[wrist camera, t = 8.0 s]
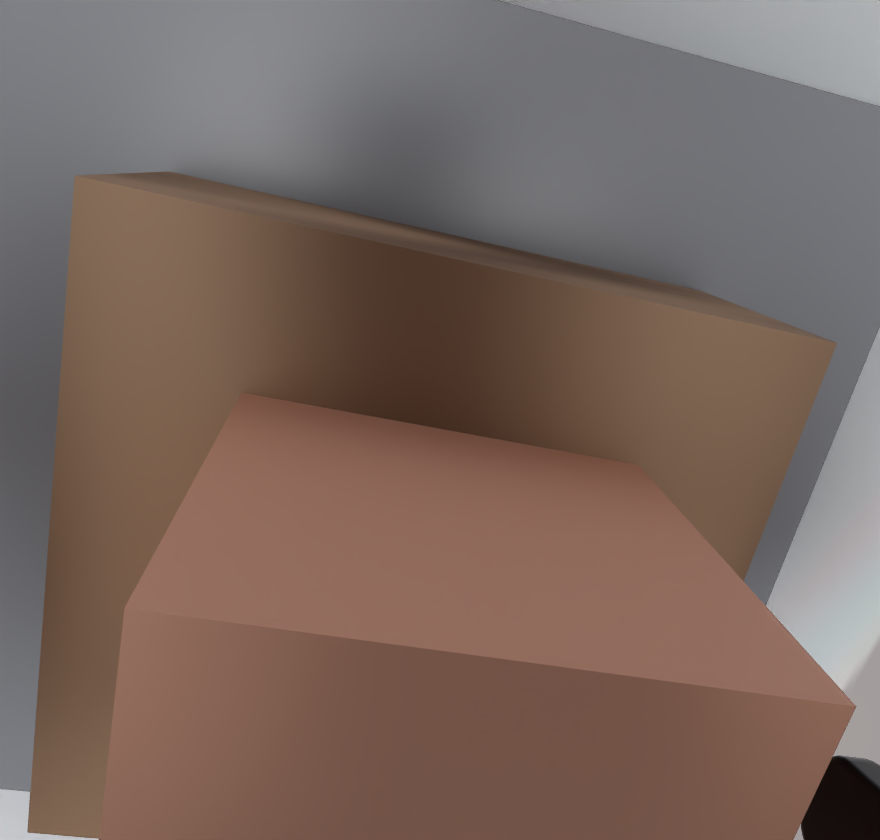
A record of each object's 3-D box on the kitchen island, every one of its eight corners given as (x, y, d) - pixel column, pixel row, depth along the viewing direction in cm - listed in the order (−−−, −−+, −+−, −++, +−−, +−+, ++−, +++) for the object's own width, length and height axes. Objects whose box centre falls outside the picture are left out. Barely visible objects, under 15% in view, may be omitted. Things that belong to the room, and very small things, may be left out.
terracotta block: (638, 465, 10) (854, 706, 5) (537, 774, 11) (644, 1154, 7) (241, 392, 9) (124, 609, 5) (190, 735, 10) (64, 1140, 6)
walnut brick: (700, 290, 13) (838, 343, 9) (562, 710, 16) (624, 884, 12) (169, 171, 12) (74, 174, 8) (116, 656, 14) (27, 832, 11)
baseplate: (918, 131, 13) (960, 128, 13) (649, 816, 18) (664, 852, 17) (-33, -131, 11) (-71, -158, 10) (-57, 743, 16) (-83, 780, 15)
